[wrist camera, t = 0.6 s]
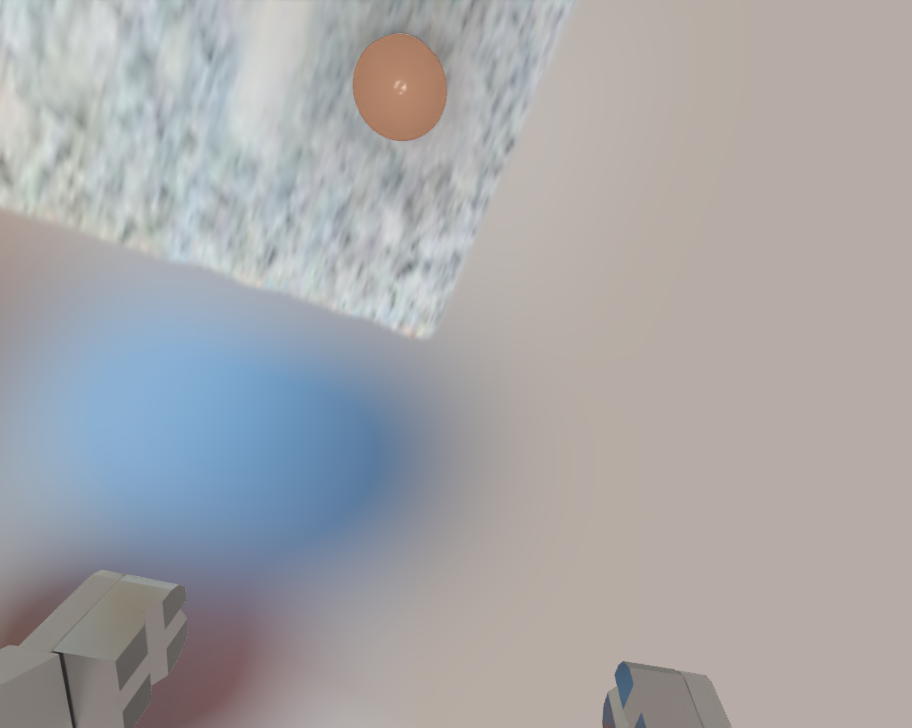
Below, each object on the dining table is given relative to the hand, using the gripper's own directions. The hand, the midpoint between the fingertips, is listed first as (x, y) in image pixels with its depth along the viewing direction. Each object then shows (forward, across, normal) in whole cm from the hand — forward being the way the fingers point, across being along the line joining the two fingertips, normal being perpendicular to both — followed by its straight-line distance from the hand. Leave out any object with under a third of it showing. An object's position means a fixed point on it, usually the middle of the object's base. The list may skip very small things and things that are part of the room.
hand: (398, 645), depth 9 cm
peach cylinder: (+43, +9, -15) cm, 46 cm away
